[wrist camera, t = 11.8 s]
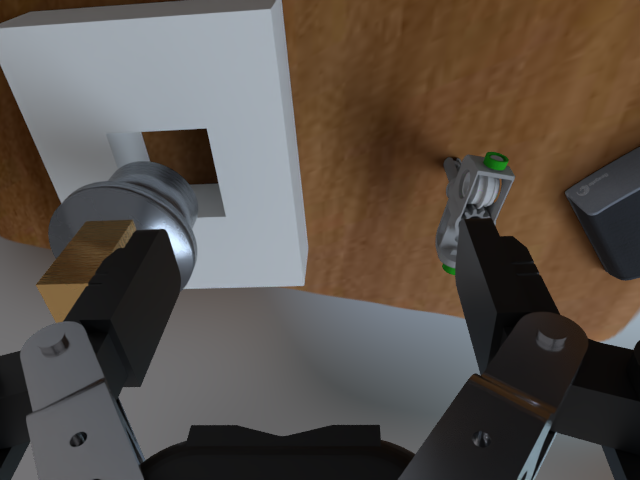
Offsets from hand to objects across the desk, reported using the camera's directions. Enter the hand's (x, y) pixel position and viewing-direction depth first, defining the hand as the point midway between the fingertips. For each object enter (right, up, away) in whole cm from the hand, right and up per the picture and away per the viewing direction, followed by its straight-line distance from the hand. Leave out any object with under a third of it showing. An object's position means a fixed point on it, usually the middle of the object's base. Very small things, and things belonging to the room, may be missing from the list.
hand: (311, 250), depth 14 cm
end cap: (-12, +4, +24) cm, 27 cm away
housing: (-12, +9, +31) cm, 35 cm away
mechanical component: (+12, +7, +31) cm, 34 cm away
